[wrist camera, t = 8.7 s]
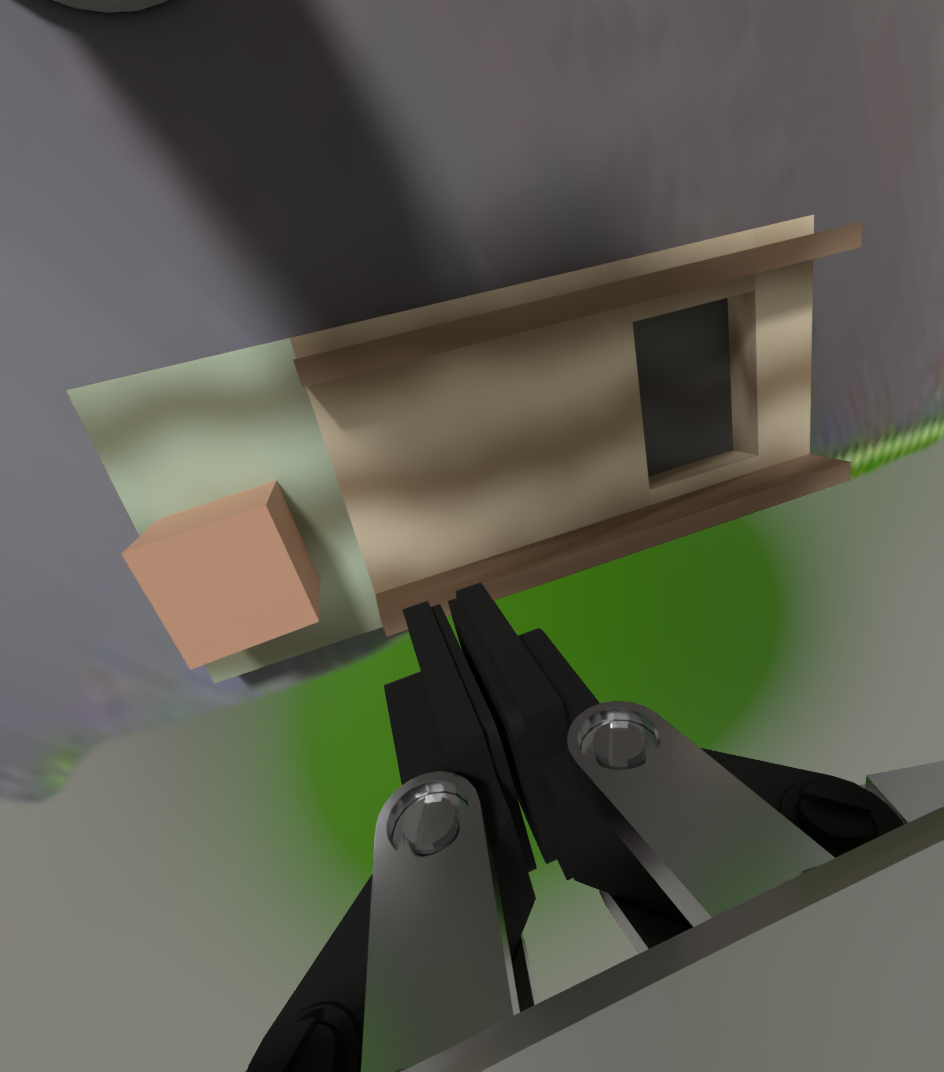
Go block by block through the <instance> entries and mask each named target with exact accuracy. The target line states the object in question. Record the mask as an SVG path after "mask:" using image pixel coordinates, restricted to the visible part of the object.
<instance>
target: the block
mask: <svg viewBox="0 0 944 1072" xmlns="http://www.w3.org/2000/svg"><path fill="white" fill-rule="evenodd" d="M122 556H123V557H124V559H125V561H126V562H127V564H128V566H129V567H130V569H131V571H132V572H133V574H134V576H135V577H136V579H137V581H138V582H139V584H140V586H141V587H142V589H143V591H144V593H145V594H146V596H147V598H148V599H149V601H150V603H151V604H152V606H153V608H154V609H155V611H156V613H157V614H158V616H159V618H160V619H161V621H162V623H163V625H164V626H165V628H166V630H167V631H168V633H169V635H170V636H171V638H172V640H173V641H174V643H175V645H176V646H177V648H178V650H179V651H180V653H181V655H182V656H183V658H184V660H185V662H186V663H187V665H188V667H189V668H190V670H191V669H194V668H196V667H199V666H202V665H204V664H207V663H210V662H212V661H215V660H218V659H220V658H223V657H226V656H228V655H231V654H234V653H236V652H239V651H242V650H244V649H247V648H250V647H252V646H255V645H258V644H260V643H263V642H266V641H268V640H271V639H274V638H276V637H279V636H282V635H285V634H287V633H290V632H293V631H295V630H298V629H301V628H303V627H306V626H309V625H311V624H314V623H317V622H319V608H320V578H319V576H318V574H317V571H316V569H315V567H314V565H313V562H312V560H311V558H310V555H309V553H308V551H307V549H306V546H305V544H304V542H303V540H302V537H301V535H300V533H299V530H298V528H297V526H296V524H295V521H294V519H293V517H292V514H291V512H290V510H289V508H288V505H287V503H286V501H285V499H284V496H283V494H282V492H281V489H280V487H279V485H278V483H277V480H276V481H273V482H270V483H267V484H264V485H261V486H257V487H254V488H251V489H248V490H245V491H242V492H239V493H236V494H233V495H230V496H227V497H224V498H221V499H218V500H215V501H212V502H209V503H206V504H203V505H200V506H197V507H194V508H191V509H188V510H185V511H182V512H179V513H176V514H173V515H170V516H167V517H164V518H161V519H158V520H157V521H156V522H155V523H154V524H152V525H151V526H150V527H149V528H148V529H147V530H146V531H145V532H144V533H143V534H142V535H141V536H140V537H139V538H138V539H137V540H136V541H135V542H133V543H132V544H131V545H130V546H129V547H128V548H127V549H126V550H125V551H124V552H123V553H122Z"/></svg>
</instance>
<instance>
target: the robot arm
mask: <svg viewBox="0 0 944 1072" xmlns="http://www.w3.org/2000/svg"><path fill="white" fill-rule="evenodd" d="M53 1H56V2H59V3H62V4H64V5H67V6H70V7H73V8H79V9H86V10H92V11H99V12H106V13H111V12H126V11H139V10H142V9H145V8H148V7H151V6H154V5H157V4H160V3H164V2H166V1H168V0H53ZM456 597H457V598H455V599H452V600H449V601H448V604H449V608H450V612H451V615H452V618H453V622H454V625H455V629H456V632H457V635H458V639H459V642H460V646H461V648H460V646H459V643H458V641H457V639H456V637H455V635H454V633H453V631H452V628H451V626H450V624H449V622H448V620H447V617H446V615H445V613H444V611H443V609H442V607H441V605H440V604H438V605H435V606H432V607H430V605H429V602H428V601H425V602H422V603H419V604H416V605H413V606H411V607H408V608H405V609H402V611H403V614H404V617H405V620H406V624H407V627H408V630H409V633H410V637H411V640H412V643H413V647H414V650H415V653H416V656H417V659H418V663H419V666H420V669H421V672H418V673H416V674H413V675H410V676H407V677H405V678H402V679H399V680H396V681H394V682H391V683H388V684H386V685H384V689H385V695H386V701H387V706H388V712H389V717H390V723H391V728H392V734H393V739H394V745H395V750H396V756H397V761H398V767H399V772H400V778H401V783H402V786H401V787H399V788H398V789H397V790H396V791H395V792H394V793H393V794H392V795H391V797H390V798H389V799H388V800H387V801H386V803H385V805H384V806H383V808H382V810H381V812H380V814H379V816H378V821H377V826H376V829H375V843H374V860H373V874H372V875H371V877H370V879H369V880H368V881H367V883H366V884H365V886H364V887H363V889H362V890H361V892H360V893H359V895H358V896H357V898H356V899H355V901H354V902H353V904H352V905H351V907H350V908H349V910H348V911H347V913H346V914H345V916H344V917H343V919H342V921H341V922H340V923H339V925H338V927H337V928H336V930H335V931H334V932H333V934H332V936H331V937H330V939H329V940H328V942H327V943H326V945H325V946H324V948H323V949H322V951H321V952H320V954H319V955H318V957H317V958H316V960H315V961H314V963H313V964H312V966H311V967H310V969H309V970H308V972H307V973H306V975H305V976H304V978H303V979H302V981H301V982H300V984H299V985H298V987H297V988H296V990H295V991H294V993H293V994H292V996H291V997H290V999H289V1000H288V1002H287V1003H286V1005H285V1006H284V1008H283V1009H282V1011H281V1012H280V1014H279V1015H278V1017H277V1018H276V1020H275V1022H274V1023H273V1025H272V1026H271V1027H270V1029H269V1031H268V1032H267V1034H266V1035H265V1037H264V1038H263V1040H262V1042H261V1044H260V1045H259V1047H258V1049H257V1051H256V1053H255V1055H254V1057H253V1058H252V1060H251V1062H250V1064H249V1066H248V1069H247V1070H246V1071H245V1072H944V761H941V762H935V763H929V764H925V765H919V766H914V767H908V768H903V769H898V770H892V771H887V772H882V773H877V774H871V775H866V784H865V785H857V784H855V783H853V782H850V781H847V780H844V779H841V778H838V777H834V776H831V775H826V774H821V773H817V772H811V771H807V770H802V769H797V768H792V767H788V766H783V765H778V764H774V763H769V762H764V761H760V760H755V759H750V758H745V757H741V756H736V755H731V754H726V753H721V752H717V751H712V750H707V749H702V748H699V747H698V746H697V745H695V744H694V743H693V742H692V741H690V740H689V739H688V738H687V737H686V736H684V735H683V734H682V733H681V732H679V731H678V730H677V729H676V728H674V727H673V726H672V725H671V724H670V723H668V722H667V721H666V720H665V719H663V718H662V717H661V716H660V715H658V714H657V713H655V712H654V711H652V710H650V709H649V708H647V707H645V706H642V705H639V704H635V703H632V702H623V701H612V702H605V703H599V702H598V700H597V699H596V698H595V697H594V695H593V694H592V693H591V691H590V690H589V689H588V688H587V686H586V685H585V684H584V683H583V681H582V680H581V679H580V677H579V676H578V675H577V674H576V672H575V671H574V670H573V669H572V667H571V666H570V665H569V663H568V662H567V661H566V659H565V658H564V657H563V656H562V654H561V653H560V652H559V651H558V649H557V648H556V647H555V645H554V644H553V643H552V642H551V640H550V639H549V638H548V637H547V635H546V634H545V633H544V632H543V631H542V630H541V629H539V628H538V629H535V630H532V631H530V632H527V633H524V634H521V635H519V636H517V634H516V633H515V631H514V630H513V628H512V627H511V625H510V624H509V622H508V621H507V620H506V618H505V617H504V615H503V614H502V612H501V611H500V609H499V608H498V606H497V605H496V604H495V602H494V600H493V599H492V597H491V596H490V594H489V593H488V592H487V590H486V589H485V587H484V586H483V584H482V583H481V582H480V583H477V584H474V585H471V586H468V587H465V588H463V589H460V590H457V591H456ZM461 649H462V650H461ZM518 801H519V803H520V805H521V808H522V810H523V812H524V815H525V817H526V819H527V822H528V824H529V826H530V829H531V831H532V833H533V836H534V838H535V840H536V842H537V845H538V847H539V849H540V851H541V854H542V856H543V858H544V860H545V862H546V864H548V863H550V862H552V861H555V860H558V862H559V864H560V867H561V869H562V871H563V873H564V875H565V877H566V880H569V879H571V878H573V877H574V880H575V881H578V882H580V883H583V884H586V885H588V886H591V887H594V888H596V889H599V892H600V895H601V897H602V899H603V901H604V903H605V905H606V907H607V908H608V910H609V911H610V913H611V914H612V915H613V917H614V918H615V919H616V921H617V923H618V924H619V925H620V927H621V928H622V930H623V931H624V933H625V934H626V936H627V937H628V939H629V940H630V941H631V943H632V944H633V946H634V947H635V949H636V950H637V952H638V953H639V954H638V955H636V956H634V957H632V958H630V959H628V960H626V961H623V962H621V963H619V964H618V965H616V966H613V967H611V968H609V969H608V970H605V971H603V972H601V973H599V974H597V975H595V976H593V977H591V978H589V979H587V980H585V981H583V982H581V983H579V984H577V985H575V986H573V987H571V988H569V989H567V990H565V991H563V992H561V993H559V994H557V995H555V996H553V997H550V998H549V999H547V1000H544V1001H543V1002H540V1003H537V998H536V994H535V988H534V983H533V978H532V973H531V968H530V963H529V958H528V953H527V947H526V943H525V940H524V937H523V934H522V932H523V929H524V927H525V924H526V922H527V919H528V917H529V914H530V912H531V909H532V907H533V904H534V901H535V899H536V897H535V894H534V891H533V887H532V884H531V881H530V877H529V874H528V872H530V871H532V870H534V869H536V868H537V867H536V863H535V859H534V856H533V852H532V849H531V845H530V842H529V838H528V835H527V831H526V827H525V824H524V820H523V817H522V813H521V810H520V806H519V803H518Z"/></svg>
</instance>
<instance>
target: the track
mask: <svg viewBox="0 0 944 1072" xmlns="http://www.w3.org/2000/svg"><path fill="white" fill-rule="evenodd" d="M861 243H862V222H859V223H855V224H851V225H847V226H843V227H838V228H834V229H830V230H826V231H822V232H818V233H814V215H810V216H806V217H802V218H798V219H793V220H789V221H785V222H781V223H776V224H772V225H768V226H764V227H759V228H755V229H751V230H747V231H742V232H738V233H734V234H730V235H725V236H721V237H717V238H713V239H708V240H704V241H700V242H696V243H691V244H687V245H683V246H679V247H674V248H670V249H666V250H661V251H657V252H653V253H649V254H644V255H640V256H636V257H632V258H627V259H623V260H619V261H615V262H610V263H606V264H602V265H598V266H593V267H589V268H585V269H581V270H576V271H572V272H568V273H564V274H559V275H555V276H551V277H547V278H542V279H538V280H534V281H530V282H525V283H521V284H517V285H513V286H508V287H504V288H500V289H496V290H491V291H487V292H483V293H479V294H474V295H470V296H466V297H462V298H457V299H453V300H449V301H445V302H440V303H436V304H432V305H428V306H423V307H419V308H415V309H411V310H406V311H402V312H398V313H394V314H389V315H385V316H381V317H377V318H372V319H368V320H364V321H360V322H355V323H351V324H347V325H343V326H338V327H334V328H330V329H326V330H321V331H317V332H313V333H309V334H304V335H300V336H296V337H292V338H287V339H283V340H279V341H274V342H270V343H266V344H262V345H257V346H253V347H249V348H245V349H240V350H236V351H232V352H228V353H223V354H219V355H215V356H211V357H206V358H202V359H198V360H194V361H189V362H185V363H181V364H177V365H172V366H168V367H164V368H160V369H155V370H151V371H147V372H143V373H138V374H134V375H130V376H126V377H121V378H117V379H113V380H109V381H104V382H100V383H96V384H92V385H87V386H83V387H79V388H75V389H70V390H66V391H67V393H68V395H69V397H70V399H71V401H72V403H73V405H74V407H75V409H76V411H77V413H78V415H79V417H80V419H81V421H82V423H83V425H84V427H85V429H86V431H87V433H88V435H89V437H90V439H91V441H92V443H93V445H94V447H95V449H96V451H97V453H98V455H99V457H100V459H101V461H102V463H103V465H104V467H105V469H106V471H107V473H108V475H109V477H110V479H111V481H112V483H113V485H114V486H115V488H116V490H117V492H118V494H119V496H120V498H121V500H122V502H123V504H124V506H125V508H126V510H127V512H128V514H129V516H130V518H131V520H132V522H133V524H134V526H135V528H136V530H137V532H138V534H139V536H141V535H142V534H143V533H144V532H145V531H146V530H147V529H148V528H149V527H150V526H151V525H152V524H154V523H155V522H156V521H157V520H158V519H161V518H164V517H167V516H170V515H173V514H176V513H179V512H182V511H185V510H188V509H191V508H194V507H197V506H200V505H203V504H206V503H209V502H212V501H215V500H218V499H221V498H224V497H227V496H230V495H233V494H236V493H239V492H242V491H245V490H248V489H251V488H254V487H257V486H261V485H264V484H267V483H270V482H273V481H276V480H277V483H278V485H279V487H280V489H281V492H282V494H283V496H284V499H285V501H286V503H287V505H288V508H289V510H290V512H291V514H292V517H293V519H294V521H295V524H296V526H297V528H298V530H299V533H300V535H301V537H302V540H303V542H304V544H305V546H306V549H307V551H308V553H309V555H310V558H311V560H312V562H313V565H314V567H315V569H316V571H317V574H318V576H319V578H320V608H319V622H317V623H314V624H311V625H309V626H306V627H303V628H301V629H298V630H295V631H293V632H290V633H287V634H285V635H282V636H279V637H276V638H274V639H271V640H268V641H266V642H263V643H260V644H258V645H255V646H252V647H250V648H247V649H244V650H242V651H239V652H236V653H234V654H231V655H228V656H226V657H223V658H220V659H218V660H215V661H212V662H210V663H207V664H204V665H205V667H206V669H207V671H208V673H209V675H210V677H211V679H212V681H213V683H217V682H220V681H223V680H226V679H229V678H232V677H235V676H238V675H241V674H244V673H247V672H250V671H253V670H256V669H259V668H262V667H265V666H268V665H271V664H274V663H277V662H280V661H283V660H286V659H289V658H292V657H295V656H298V655H301V654H304V653H307V652H310V651H313V650H316V649H319V648H322V647H325V646H328V645H331V644H334V643H337V642H340V641H343V640H346V639H349V638H352V637H355V636H358V635H361V634H364V633H367V632H370V631H373V630H376V629H379V628H382V627H383V628H384V631H385V634H386V637H387V636H390V635H393V634H396V633H399V632H402V631H405V630H408V627H407V624H406V620H405V617H404V614H403V611H402V609H405V608H408V607H411V606H413V605H416V604H419V603H422V602H425V601H428V602H429V605H430V607H432V606H435V605H438V604H440V605H441V607H442V609H443V611H444V613H445V615H446V616H449V615H451V612H450V608H449V604H448V601H449V600H452V599H455V598H457V597H456V591H457V590H460V589H463V588H465V587H468V586H471V585H474V584H477V583H480V582H481V583H482V584H483V586H484V587H485V589H486V590H487V592H488V593H489V594H490V596H491V597H492V599H493V600H497V599H500V598H503V597H506V596H508V595H512V594H514V593H517V592H520V591H523V590H526V589H529V588H532V587H535V586H538V585H541V584H544V583H547V582H550V581H553V580H556V579H559V578H562V577H565V576H568V575H571V574H573V573H576V572H580V571H582V570H586V569H588V568H591V567H594V566H597V565H600V564H603V563H606V562H609V561H612V560H615V559H618V558H621V557H624V556H627V555H630V554H633V553H636V552H639V551H642V550H645V549H647V548H651V547H654V546H656V545H660V544H662V543H665V542H668V541H671V540H674V539H677V538H680V537H683V536H686V535H689V534H692V533H695V532H698V531H701V530H704V529H707V528H710V527H713V526H716V525H718V524H721V523H725V522H728V521H730V520H733V519H736V518H739V517H742V516H745V515H748V514H751V513H754V512H757V511H760V510H763V509H766V508H769V507H772V506H775V505H778V504H781V503H784V502H787V501H790V500H793V499H796V498H799V497H801V496H805V495H808V494H810V493H813V492H816V491H819V490H822V489H825V488H828V487H831V486H834V485H837V484H840V483H843V482H846V481H849V480H850V466H851V462H849V461H843V460H838V459H833V458H828V457H823V456H818V455H813V454H810V404H811V350H812V297H813V259H816V258H820V257H823V256H827V255H831V254H835V253H839V252H843V251H847V250H851V249H855V248H859V247H861Z"/></svg>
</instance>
